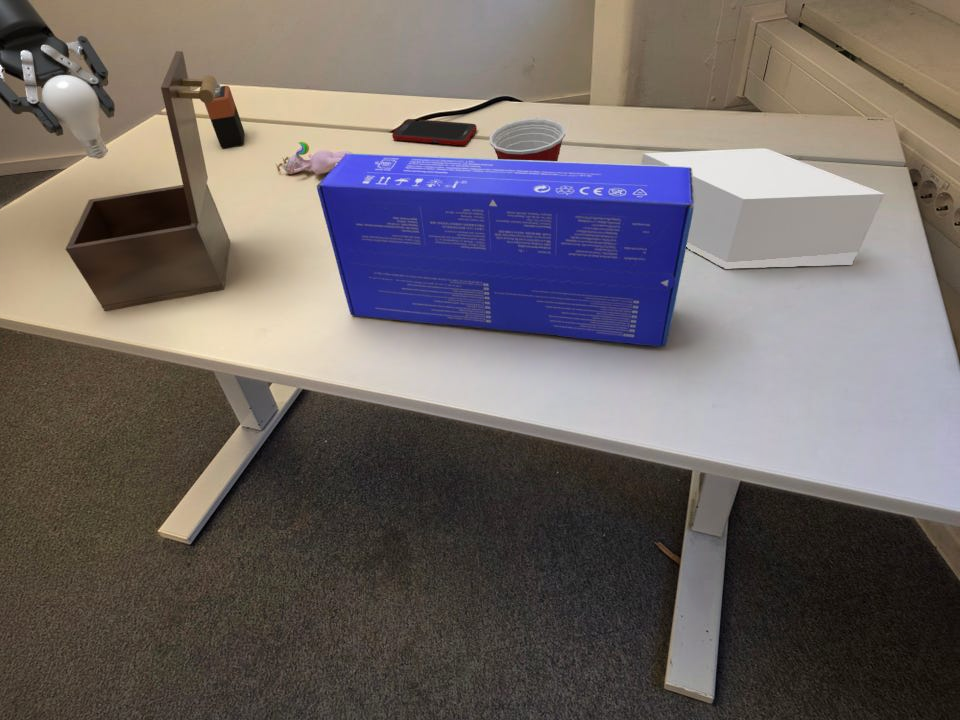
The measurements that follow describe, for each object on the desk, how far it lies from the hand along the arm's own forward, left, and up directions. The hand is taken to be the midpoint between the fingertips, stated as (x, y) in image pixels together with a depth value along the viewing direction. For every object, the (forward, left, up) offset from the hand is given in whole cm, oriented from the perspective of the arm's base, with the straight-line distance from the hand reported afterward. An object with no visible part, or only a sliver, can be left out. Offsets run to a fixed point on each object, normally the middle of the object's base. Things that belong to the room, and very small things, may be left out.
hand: (86, 122), depth 81 cm
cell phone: (+49, +21, -18) cm, 56 cm away
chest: (+5, -11, -18) cm, 22 cm away
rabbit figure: (+27, +13, -18) cm, 35 cm away
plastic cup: (+58, -10, -18) cm, 62 cm away
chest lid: (+14, -11, 0) cm, 18 cm away
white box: (+83, -28, -18) cm, 90 cm away
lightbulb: (-1, +1, -6) cm, 6 cm away
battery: (+11, +33, -18) cm, 39 cm away
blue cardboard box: (+49, -34, -18) cm, 62 cm away
